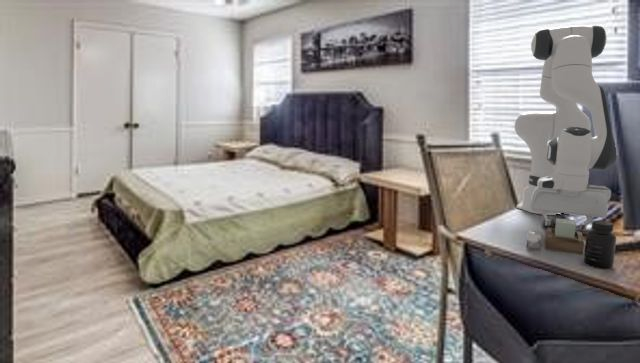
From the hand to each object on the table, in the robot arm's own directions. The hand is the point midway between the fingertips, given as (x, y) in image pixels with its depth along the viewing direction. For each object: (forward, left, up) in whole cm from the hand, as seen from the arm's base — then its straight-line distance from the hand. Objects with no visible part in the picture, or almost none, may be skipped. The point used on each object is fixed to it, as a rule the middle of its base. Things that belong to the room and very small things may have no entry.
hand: (565, 227), depth 133 cm
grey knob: (+6, -8, -6) cm, 12 cm away
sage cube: (0, 0, -3) cm, 3 cm away
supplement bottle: (+12, +8, -6) cm, 16 cm away
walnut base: (0, 0, -6) cm, 6 cm away
